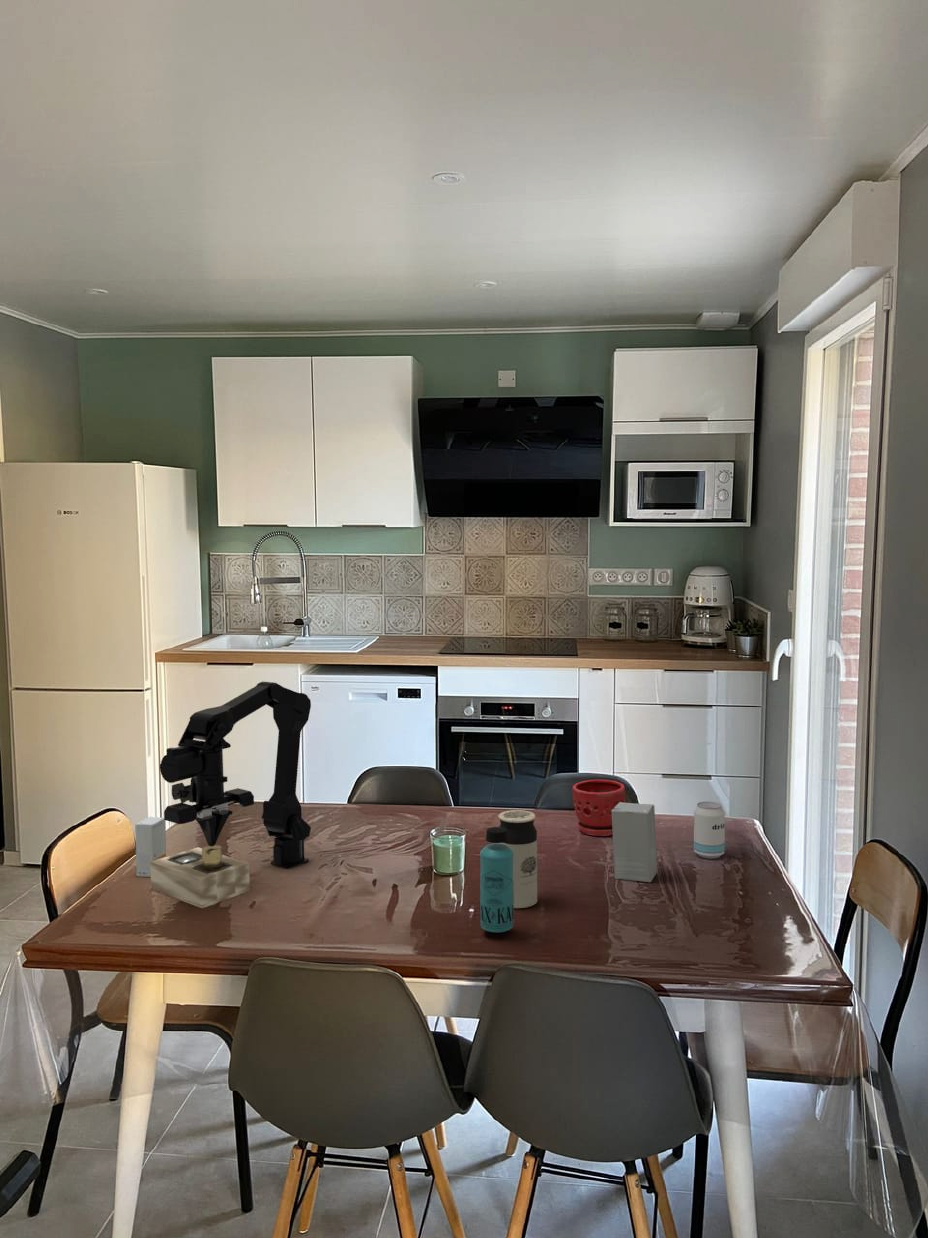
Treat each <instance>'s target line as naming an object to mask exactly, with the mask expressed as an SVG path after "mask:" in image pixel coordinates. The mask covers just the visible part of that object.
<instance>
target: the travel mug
mask: <svg viewBox="0 0 928 1238" xmlns="http://www.w3.org/2000/svg"><path fill="white" fill-rule="evenodd" d="M498 819H499V822H500V823H499V827H503V828H506V829H507V833H508V841H507V842H504V843H497V844H504V845H507V846H508V847H509V848H510V849H511V850H512V851H513V853H514V855H513V881H514V909H526V908H530V907H532V906H534V905H535V904H537V902H538V830H537V829H536V826H535V824H534V822H535V819H536V814H535V813H534V812H531V811H529V810H528V811H527V810H521V809H519V810H517V809H512V810H506V811H502V812H500V813H499V814H498Z"/></svg>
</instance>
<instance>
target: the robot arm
mask: <svg viewBox="0 0 928 1238" xmlns="http://www.w3.org/2000/svg"><path fill="white" fill-rule="evenodd" d="M264 706H268V707H270V708H272V713H273V714H272V718H273V720H274V723H275V725H276V727H277V730H278V736H277V749H276V750H277V751H276V758H275V759H276V760H275V761H276V762H275V774H274V784H273V785H274V786H273V793H272V795H271V797H270V798H269V799H268V800H264V801H263V802H262V803H263V804H262V808H263V810H262V814H261V815H262V816H261V819H262V821H263V822H262V823H263V826H264V827H265V829H266V832H267V834H268V836H269V837H274V840H273V842H274V844H273V846H272V850H273V860H270V864H272V865H275V866H279V867H282V868H285V869H291V868H295V867H298V866H300V865H303V864H306V863H308V862H310V859H309V858H307V857H305V840H306V838H309V837H310V834H311V829H312V827H311V826H310V825H309V824H308V823H307V822H306V821H305V820H304V819H303V816H302V805H301V803H300V801H299V799H298V796H297V782H298V781H297V780H298V771H299V769H298V768H299V756H300V745H301V744H300V743H301V742H300V741H301V733H302V730H303V728H304V727H305V726H306V724H307V723H308V721H309V718H310V712H311V708H312V702H311V698H309V696H308V695H307V694H306V693H304V692H297V691H294V690H293V689H290V688H286V687H284V686H283V685H281V684H279V683H277V682H273V681H272V682H271V681H261V682H258V683H257V684H256V685H255V686H253V687H252V688H250V689H248V690H247V691H245V692H243V693H241V694H240V695H237V696H236V697H234V698H233V699H231V700H229V701H227V702H226V703H224V704H222V705H220V706H219V705H218V706H214V707H208V708H205V709H201V710H199V711H196V712H194V713H193V714H191V715H190V717H189V721H188V724H187V725H186V728H185V730H184V732H183V734H182V736H181V738H180V740H179V741H178V743H177V747H168V748H166V749H165V750H166V754H165V755H164V756H163V757H162V759H161V761H160V764H159V771H160V775H161V777H162V778H163V780H164V781H166V783H168V784H173V785H171V796H172V799H173V800H174V801H177V800H180V802H179V803H175V804H171V805H167V806H166V807H165V809H164V811H163V818H164V820H165V821H167V822H169V823H173V824H178V825H185V824H188V823H192V822H194V821H196V822H197V823H198V825H199V827H200V829H201V830H202V833H203V835H204V838H205V840H206V843H207V846H211V847H212V846H215V845H217V844H216V843H217V842H218V840H219V837H220V834H221V833H222V830H223V828H224V826H225V824H226V822H227V820H228V818H229V816H232V815H233V810H229V806H231V805H233V804H239V805H240V806H241V807H242V808H246V807H249V806H253V805H254V804H255V796H254V794H253V792H252V791H251V790H247V789H243V788H237V787H236V788H234V789H230V790H225V783H227V782H228V776H225V775H224V755H223V750H225V749H229V748H231V743H229V742H228V741H226V740H225V737H226V736H227V735H229V734H230V733H231V732H232V730H233V728H234V726H235V725H236V723H238V722H239V721H241V720H243V719H244V718H247V717H248V716H250V715H251V714H253V713H254V712H256V711H258V710H259V709H261V708H263V707H264ZM188 779H190V784H187V785H185V784H184V782H182V781H184V780H188ZM180 781H181V782H180ZM177 782H179V783H177ZM174 783H175V784H174ZM187 801H188V802H190V803H192V804H187V803H186V802H187ZM193 803H195V804H193Z"/></svg>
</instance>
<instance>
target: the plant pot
mask: <svg viewBox="0 0 928 1238" xmlns="http://www.w3.org/2000/svg"><path fill="white" fill-rule="evenodd" d="M625 787H626V786H625V785H624V784H623V783H622V782H620V781H616V780H610V779H588V780H583V781H578V782H577V783H575V784H574V785H573V786H572V802H573V808H574V811H575V812H574V813H575V814H576V817H577V819H578V822H577V824H576V825H577V828H578V830H579V831H581V832H582V833H583V834H586V835H588V836H589V835H590V836H593V837H594V836H597V837H608V836H609V837H610V836H613V829H612V810H613V809H614V807H615V806H616V805H617V804H618V803H619V802H623V803H626V789H625Z"/></svg>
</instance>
